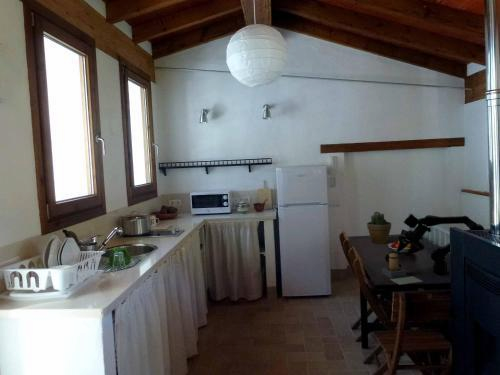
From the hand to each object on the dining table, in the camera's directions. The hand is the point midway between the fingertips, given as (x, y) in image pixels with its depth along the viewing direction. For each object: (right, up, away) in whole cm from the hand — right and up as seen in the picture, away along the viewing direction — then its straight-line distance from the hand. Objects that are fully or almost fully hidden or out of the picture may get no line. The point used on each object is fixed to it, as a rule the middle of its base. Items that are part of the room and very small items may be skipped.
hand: (401, 253), depth 226 cm
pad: (-2, -14, -12) cm, 18 cm away
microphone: (+3, -11, +21) cm, 24 cm away
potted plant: (+15, -5, +82) cm, 83 cm away
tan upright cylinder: (-4, -12, 0) cm, 13 cm away
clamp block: (-4, -13, 0) cm, 14 cm away
